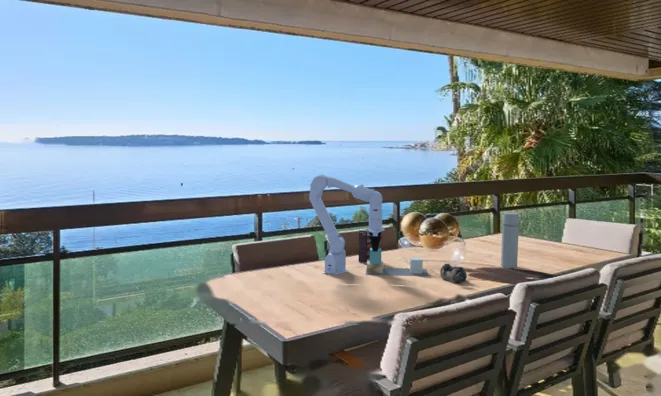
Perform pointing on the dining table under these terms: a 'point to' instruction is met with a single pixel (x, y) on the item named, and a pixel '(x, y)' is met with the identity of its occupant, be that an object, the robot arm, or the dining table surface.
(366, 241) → the supplement box
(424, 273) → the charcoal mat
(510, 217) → the water bottle
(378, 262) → the teal block
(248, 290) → the dining table surface
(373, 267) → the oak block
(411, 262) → the light grey block
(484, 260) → the dining table surface
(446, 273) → the black rounded lump
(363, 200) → the robot arm
